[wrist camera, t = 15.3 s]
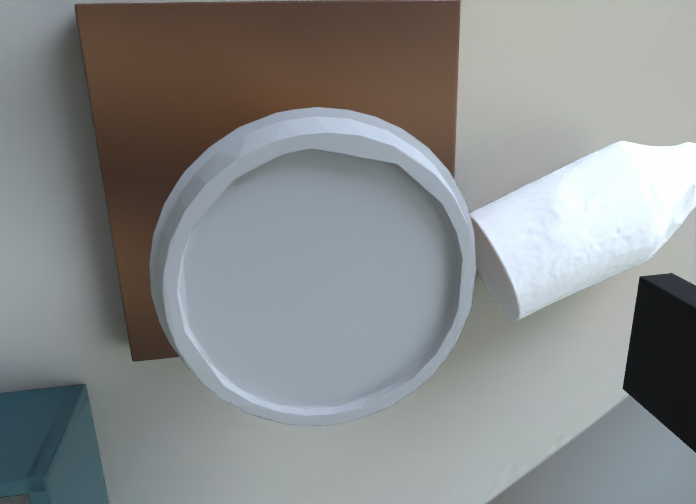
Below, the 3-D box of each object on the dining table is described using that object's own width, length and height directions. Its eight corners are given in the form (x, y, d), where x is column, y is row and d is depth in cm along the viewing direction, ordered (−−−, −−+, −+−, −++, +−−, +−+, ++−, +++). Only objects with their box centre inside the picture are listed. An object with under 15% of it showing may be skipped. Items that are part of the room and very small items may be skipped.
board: (82, 6, 25) (73, 3, 23) (449, 1, 27) (461, -2, 26) (136, 347, 30) (132, 362, 29) (440, 317, 33) (449, 329, 31)
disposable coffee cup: (429, 178, 28) (557, 263, 17) (300, 323, 30) (340, 491, 18) (275, 36, 25) (306, 26, 14) (137, 206, 26) (65, 323, 15)
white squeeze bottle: (680, 202, 33) (764, 231, 28) (486, 297, 33) (533, 344, 27) (657, 101, 31) (744, 112, 25) (449, 201, 30) (493, 233, 25)
